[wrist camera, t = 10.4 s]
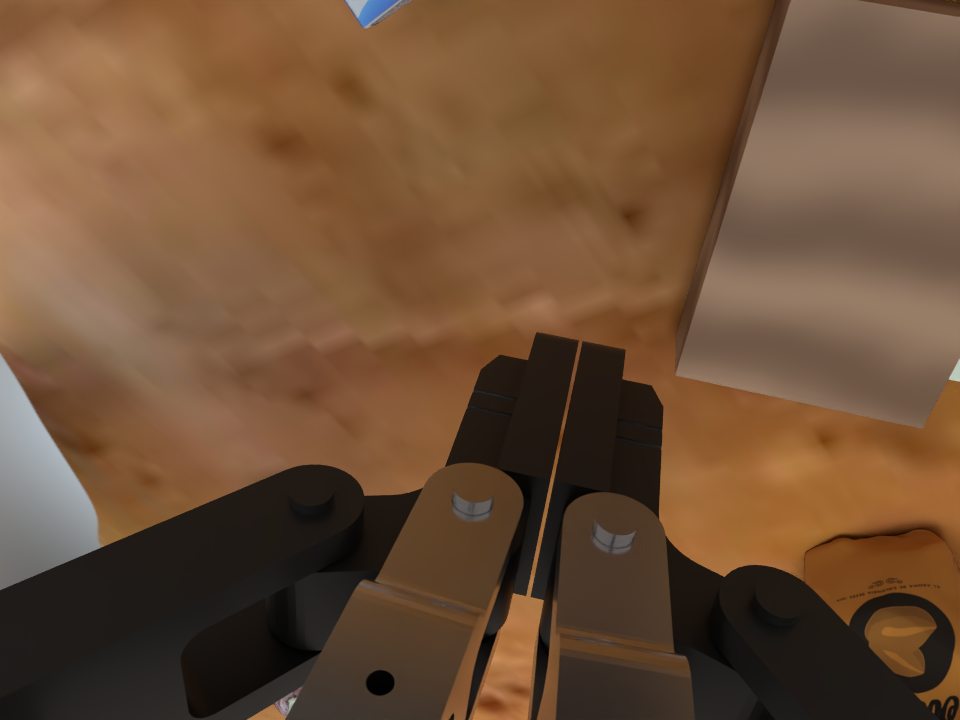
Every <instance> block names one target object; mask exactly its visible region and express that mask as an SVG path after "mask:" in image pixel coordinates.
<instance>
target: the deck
mask: <svg viewBox="0 0 960 720" xmlns="http://www.w3.org/2000/svg"><path fill="white" fill-rule="evenodd" d="M959 359H960V3H955V2H949V1H943V0H776V3H775V7H774V10H773V13H772V17H771V20H770V23H769V27H768V30H767V33H766V37H765V40H764V43H763V47H762V50H761V53H760V57H759V60H758V63H757V67H756V70H755V73H754V77H753V80H752V83H751V87H750V90H749V93H748V97H747V100H746V103H745V107H744V110H743V113H742V117H741V120H740V123H739V127H738V130H737V133H736V137H735V140H734V143H733V147H732V150H731V153H730V157H729V160H728V163H727V167H726V170H725V173H724V177H723V180H722V183H721V187H720V190H719V193H718V197H717V200H716V203H715V207H714V210H713V213H712V217H711V220H710V224H709V227H708V230H707V234H706V237H705V240H704V244H703V247H702V250H701V254H700V257H699V260H698V264H697V267H696V270H695V274H694V277H693V280H692V284H691V287H690V290H689V294H688V297H687V300H686V304H685V307H684V310H683V314H682V317H681V320H680V324H679V327H678V330H677V334H676V360H675V375H676V376H681V377H685V378H690V379H695V380H699V381H704V382H708V383H713V384H718V385H722V386H727V387H731V388H736V389H741V390H745V391H750V392H754V393H759V394H764V395H768V396H773V397H778V398H782V399H787V400H791V401H796V402H801V403H805V404H810V405H814V406H819V407H824V408H828V409H833V410H837V411H842V412H847V413H851V414H856V415H860V416H865V417H870V418H874V419H879V420H884V421H888V422H893V423H897V424H902V425H907V426H911V427H916V428H920V429H922V428H923V426H924V424H925V422H926V421H927V419H928V417H929V415H930V413H931V411H932V409H933V407H934V406H935V404H936V402H937V400H938V398H939V396H940V394H941V392H942V391H943V389H944V387H945V385H946V383H947V381H948V379H949V377H950V376H951V374H952V372H953V370H954V368H955V366H956V364H957V362H958V361H959Z"/></svg>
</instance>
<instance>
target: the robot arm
mask: <svg viewBox="0 0 960 720" xmlns="http://www.w3.org/2000/svg"><path fill="white" fill-rule="evenodd" d="M578 342H579V340H574V339H569V338H564V337H559V336H554V335H549V334H544V333H539V332H537V333H536V335H535V339H534V342H533V345H532V349H531V352H530V356H529V359H528V360H523V359H518V358H513V357H509V356H504V355H499V356H498V357H496V358H495V359H494V360H492V361H491V362H490V363H489V364H487V365H486V366H485V367H484V368H482V369H481V371H480V374H479V377H478V379H477V382H476V385H475V387H474V391H473V393H472V395H471V398H470V401H469V404H468V408H467V409H466V412H465V414H464V417H463V420H462V422H461V425H460V428H459V430H458V433H457V436H456V439H455V441H454V444H453V447H452V449H451V452H450V455H449V457H448V460H447V463H446V465H445V467H444V468H442V469H440V470H438V471H437V472H435V473H434V474H433V475H432V476H431V477H430V478H429V479H428V480H427V482H426V483H425V485H424V487H423V488H421V489H419V490H416V491H413V492H410V493H405V494H400V495H380V496H364V493H363V490H362V488H361V486H360V484H359V483H358V482H357V480H356V479H354V478H353V477H352V476H351V475H350V474H348V473H346V472H345V471H342V470H340V469H338V468H335V467H331V466H326V465H302V466H297V467H293V468H290V469H287V470H285V471H282V472H280V473H277V474H275V475H273V476H270V477H268V478H266V479H263V480H261V481H259V482H256V483H254V484H251V485H249V486H247V487H244V488H242V489H240V490H237V491H235V492H232V493H230V494H228V495H225V496H223V497H221V498H218V499H216V500H213V501H211V502H209V503H206V504H204V505H202V506H199V507H197V508H194V509H192V510H190V511H187V512H185V513H183V514H180V515H178V516H175V517H173V518H171V519H168V520H166V521H164V522H161V523H159V524H156V525H154V526H152V527H149V528H147V529H145V530H142V531H140V532H137V533H135V534H133V535H130V536H128V537H126V538H123V539H121V540H118V541H116V542H114V543H111V544H109V545H107V546H104V547H102V548H100V549H97V550H95V551H92V552H90V553H88V554H85V555H83V556H80V557H78V558H76V559H74V560H71V561H69V562H66V563H64V564H61V565H59V566H57V567H54V568H52V569H50V570H47V571H45V572H42V573H40V574H38V575H36V576H33V577H31V578H28V579H26V580H24V581H21V582H19V583H16V584H14V585H12V586H9V587H7V588H5V589H2V590H0V720H247V719H248V718H250V717H252V716H253V715H255V714H257V713H258V712H260V711H262V710H264V709H265V708H267V707H269V706H270V705H272V704H274V703H275V702H277V701H279V700H280V699H282V698H284V697H285V696H287V695H289V694H290V693H292V692H294V691H295V690H297V689H299V688H301V687H302V686H303V687H302V689H301V691H300V693H299V695H298V696H297V698H296V700H295V702H294V704H293V706H292V708H291V710H290V711H289V713H288V715H287V717H286V719H285V720H472V719H473V716H474V713H475V710H476V707H477V704H478V701H479V698H480V695H481V692H482V688H483V685H484V682H485V679H486V676H487V673H488V670H489V667H490V664H491V661H492V658H493V655H494V652H495V649H496V646H497V643H498V640H499V635H500V630H501V627H502V626H503V624H504V623H505V621H506V619H507V616H508V612H509V608H510V603H511V599H512V595H513V593H515V594H519V595H524V596H526V594H527V589H528V585H529V580H530V575H531V570H532V565H533V560H534V556H535V551H536V546H537V541H538V536H539V532H540V527H541V522H542V517H543V512H544V507H545V503H546V498H547V493H548V488H549V483H550V479H551V474H552V469H553V464H554V459H555V454H556V450H557V445H558V440H559V435H560V430H561V425H562V421H563V416H564V411H565V406H566V401H567V396H568V391H569V386H570V381H571V376H572V372H573V367H574V362H575V357H576V352H577V347H578ZM624 360H625V349H619V348H614V347H609V346H604V345H599V344H594V343H589V342H584V341H583V342H582V347H581V352H580V357H579V361H578V366H577V371H576V376H575V381H574V386H573V390H572V395H571V400H570V405H569V410H568V414H567V419H566V424H565V429H564V434H563V439H562V444H561V449H560V454H559V459H558V463H557V468H556V473H555V478H554V483H553V488H552V493H551V498H550V503H549V508H548V513H547V518H546V523H545V528H544V533H543V538H542V543H541V548H540V553H539V558H538V563H537V568H536V573H535V578H534V583H533V588H532V593H531V597H533V598H537V599H542V600H544V603H543V608H542V614H541V619H540V624H539V629H538V633H537V638H536V642H535V647H534V657H533V668H532V678H531V689H530V700H529V711H528V720H940V719H939V718H938V717H937V716H936V715H935V714H934V713H933V712H932V711H931V710H930V709H929V708H928V707H927V706H926V705H925V704H924V703H923V702H922V701H921V700H920V699H919V698H918V697H917V696H916V695H915V694H914V693H913V692H912V691H911V690H910V689H909V688H908V687H907V686H906V684H905V683H904V682H903V681H902V680H901V679H900V678H899V677H898V676H897V675H896V674H895V673H894V672H893V671H892V670H891V669H890V668H889V667H888V666H887V665H886V664H885V663H884V662H883V661H882V660H881V659H880V658H879V657H878V656H877V655H876V654H875V653H874V652H873V651H872V650H871V648H870V647H869V646H868V645H867V644H866V643H865V642H864V641H863V640H862V639H861V638H860V637H859V636H858V635H857V634H856V633H855V632H854V631H853V630H852V629H851V628H850V627H849V626H848V625H847V624H846V623H845V622H844V621H843V620H842V619H841V618H840V617H839V616H838V615H837V614H836V612H835V611H834V610H833V609H832V608H831V607H830V606H829V605H828V604H827V603H826V602H825V601H824V600H823V599H822V598H821V597H820V596H819V595H818V594H817V593H816V592H815V591H814V590H813V589H812V588H811V587H810V586H808V585H807V584H806V583H804V582H803V581H802V580H800V579H799V578H797V577H795V576H793V575H792V574H789V573H787V572H785V571H783V570H780V569H776V568H773V567H768V566H762V565H749V566H743V567H739V568H737V569H735V570H733V571H731V572H730V573H729V574H727V575H726V576H725V577H723V576H721V575H719V574H717V573H715V572H713V571H711V570H709V569H707V568H705V567H703V566H701V565H699V564H697V563H696V562H694V561H692V560H690V559H689V558H688V557H686V556H685V555H683V554H682V553H681V552H680V551H679V550H678V549H676V548H675V547H674V545H673V544H672V543H671V542H670V541H669V540H668V538H667V537H666V535H665V530H664V528H663V526H662V524H661V522H660V520H659V495H660V472H661V446H662V426H663V405H662V404H661V402H660V400H659V398H658V396H657V395H656V393H655V391H654V389H653V387H652V386H651V385H647V384H642V383H637V382H632V381H627V380H622V377H623V369H624Z"/></svg>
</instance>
